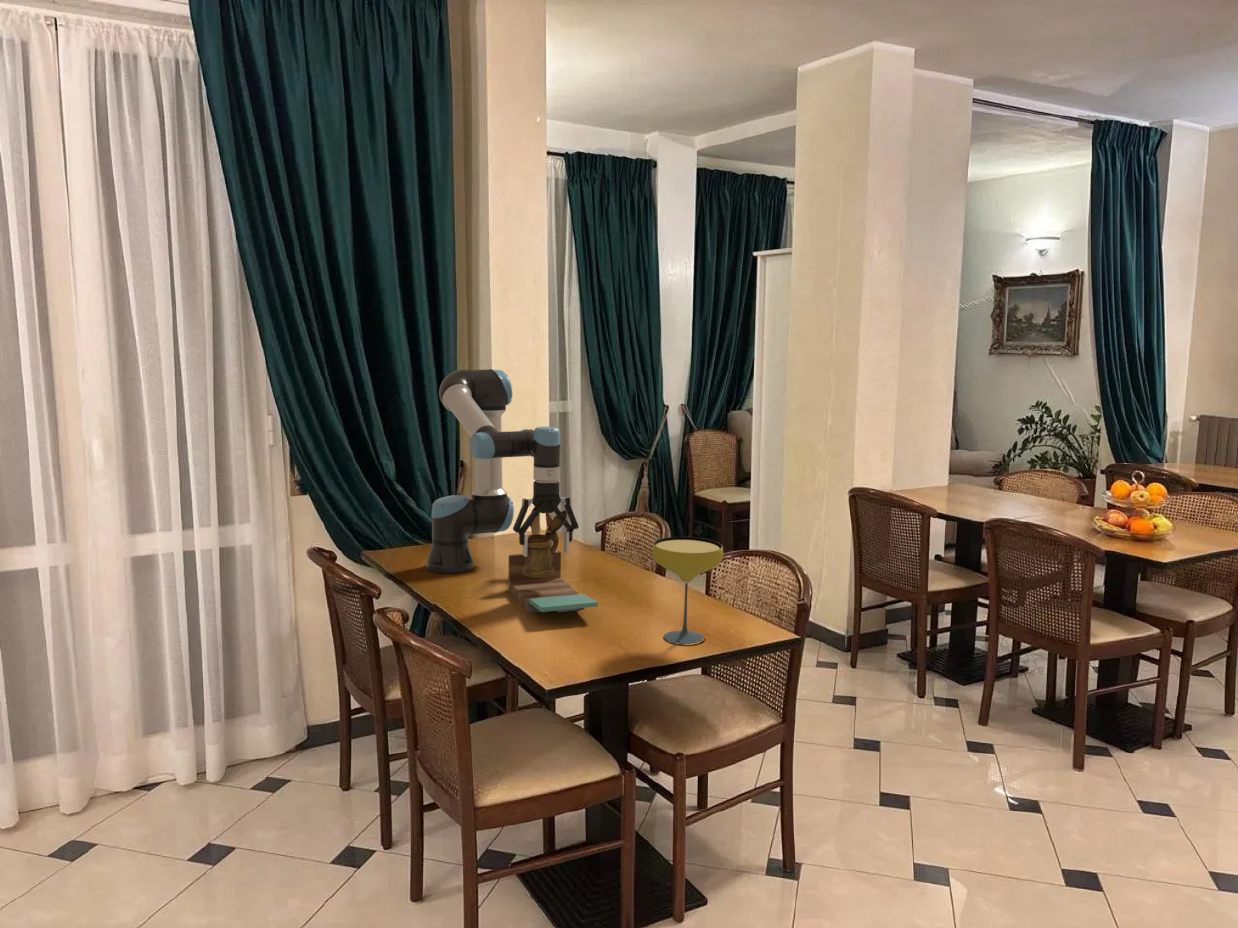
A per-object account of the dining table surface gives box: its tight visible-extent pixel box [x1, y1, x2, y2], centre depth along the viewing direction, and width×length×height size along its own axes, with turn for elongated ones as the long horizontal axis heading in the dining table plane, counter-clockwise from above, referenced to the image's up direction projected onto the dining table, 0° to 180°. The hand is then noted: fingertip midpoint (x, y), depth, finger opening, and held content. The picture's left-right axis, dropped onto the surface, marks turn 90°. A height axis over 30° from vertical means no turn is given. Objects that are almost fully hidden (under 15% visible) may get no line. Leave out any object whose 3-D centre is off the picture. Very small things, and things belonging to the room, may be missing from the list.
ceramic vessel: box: [529, 512, 558, 551], centre depth 288 cm, size 16×9×25 cm, turn 31°
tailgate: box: [529, 593, 599, 613], centre depth 249 cm, size 2×16×12 cm
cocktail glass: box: [651, 536, 724, 644], centre depth 234 cm, size 18×18×25 cm
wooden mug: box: [523, 509, 568, 577], centre depth 263 cm, size 9×14×18 cm, turn 121°
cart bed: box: [508, 550, 585, 615], centre depth 265 cm, size 24×16×11 cm
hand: (545, 554), depth 264 cm, fingers open, 12 cm apart
